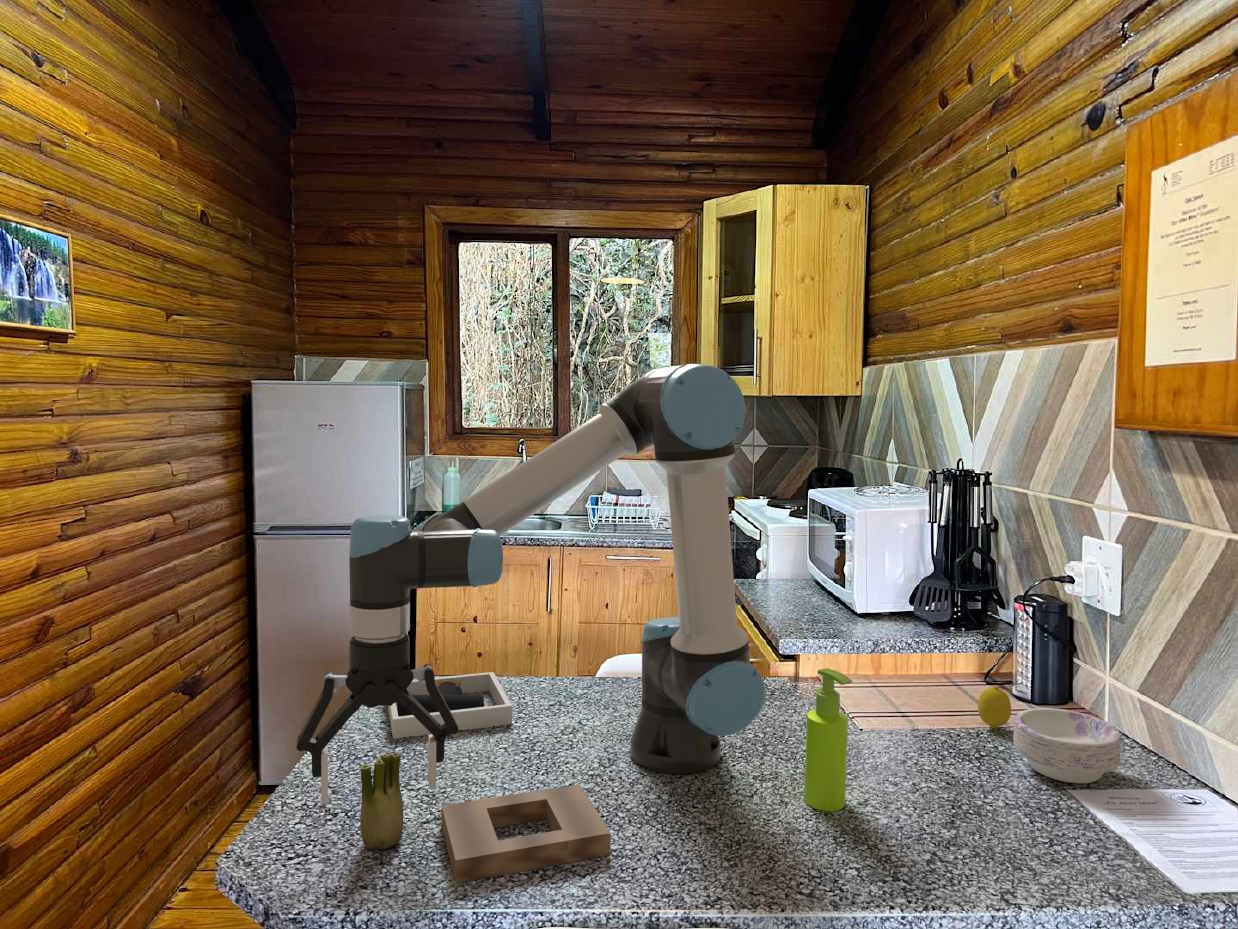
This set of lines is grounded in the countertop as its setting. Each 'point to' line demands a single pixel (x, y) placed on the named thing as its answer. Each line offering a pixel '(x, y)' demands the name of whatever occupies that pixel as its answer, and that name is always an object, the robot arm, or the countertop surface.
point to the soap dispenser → (826, 747)
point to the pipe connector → (446, 699)
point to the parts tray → (463, 717)
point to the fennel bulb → (381, 803)
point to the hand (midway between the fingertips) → (379, 792)
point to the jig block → (486, 856)
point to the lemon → (994, 707)
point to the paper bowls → (1067, 744)
